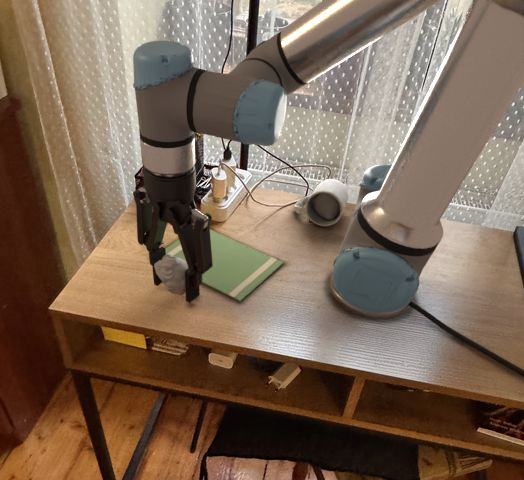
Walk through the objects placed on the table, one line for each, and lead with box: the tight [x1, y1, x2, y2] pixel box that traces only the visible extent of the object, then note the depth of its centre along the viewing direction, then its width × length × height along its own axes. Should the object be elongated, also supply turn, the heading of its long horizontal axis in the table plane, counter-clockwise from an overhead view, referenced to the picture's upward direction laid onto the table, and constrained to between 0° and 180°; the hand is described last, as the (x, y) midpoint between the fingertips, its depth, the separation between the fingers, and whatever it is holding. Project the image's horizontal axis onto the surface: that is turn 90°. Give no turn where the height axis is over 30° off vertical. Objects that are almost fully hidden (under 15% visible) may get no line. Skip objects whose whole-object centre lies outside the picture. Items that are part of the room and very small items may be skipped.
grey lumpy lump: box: [154, 254, 188, 295], centre depth 91 cm, size 6×7×7 cm
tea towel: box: [165, 229, 284, 303], centre depth 101 cm, size 20×14×1 cm
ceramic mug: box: [293, 178, 349, 227], centre depth 112 cm, size 11×8×8 cm
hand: (176, 289), depth 94 cm, fingers closed on grey lumpy lump, 6 cm apart
